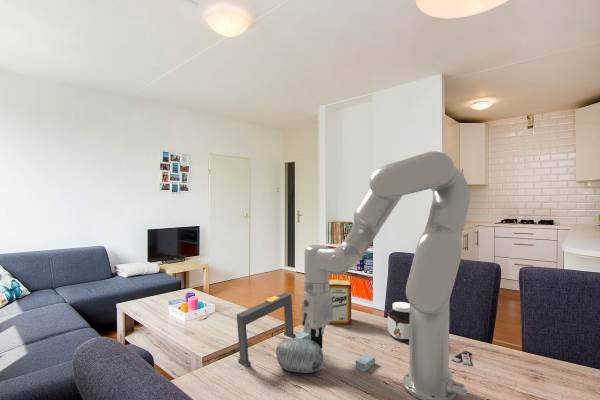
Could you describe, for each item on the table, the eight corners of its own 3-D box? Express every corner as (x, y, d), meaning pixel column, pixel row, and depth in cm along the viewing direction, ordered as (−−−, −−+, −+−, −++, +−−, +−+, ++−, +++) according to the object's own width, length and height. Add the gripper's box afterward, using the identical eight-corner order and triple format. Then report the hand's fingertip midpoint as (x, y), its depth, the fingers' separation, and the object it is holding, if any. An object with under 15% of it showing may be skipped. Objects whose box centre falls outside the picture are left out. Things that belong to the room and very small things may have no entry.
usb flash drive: (464, 353, 101) (464, 350, 101) (481, 359, 97) (481, 356, 97) (450, 361, 96) (450, 358, 96) (468, 368, 92) (468, 365, 92)
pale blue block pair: (374, 363, 94) (374, 356, 94) (364, 371, 89) (364, 364, 89) (304, 336, 112) (304, 331, 112) (293, 342, 107) (293, 336, 107)
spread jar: (384, 334, 114) (384, 302, 114) (406, 328, 119) (406, 298, 119) (410, 348, 103) (410, 312, 103) (433, 341, 109) (433, 307, 109)
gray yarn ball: (330, 352, 93) (318, 327, 90) (325, 382, 85) (311, 357, 82) (289, 354, 98) (276, 331, 95) (280, 383, 90) (266, 359, 87)
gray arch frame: (247, 367, 91) (244, 315, 90) (238, 362, 94) (234, 312, 93) (295, 337, 107) (293, 292, 105) (286, 333, 109) (283, 290, 108)
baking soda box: (349, 318, 129) (349, 279, 129) (351, 324, 123) (351, 283, 123) (326, 318, 130) (326, 279, 130) (326, 324, 123) (326, 283, 123)
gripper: (310, 294, 87) (310, 361, 86) (341, 284, 98) (341, 343, 98) (290, 289, 92) (290, 352, 91) (322, 280, 103) (321, 336, 103)
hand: (316, 347), depth 95 cm, fingers closed
